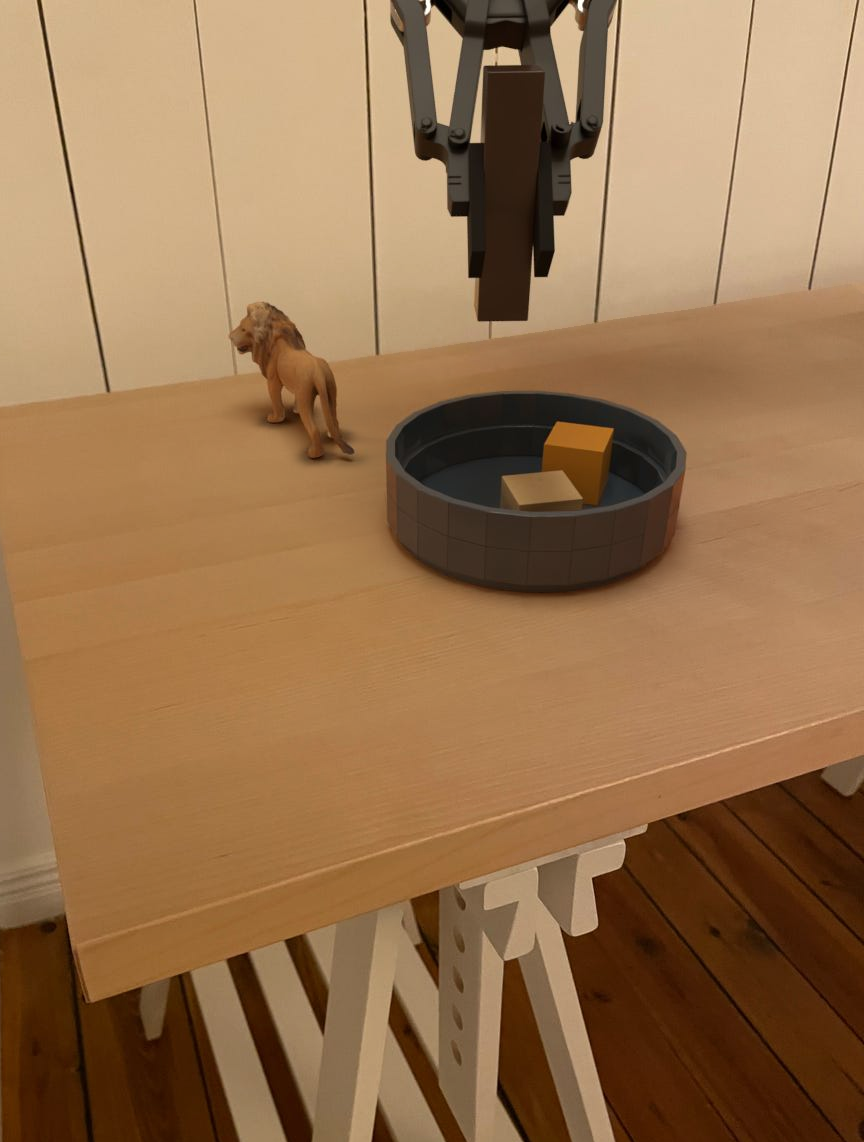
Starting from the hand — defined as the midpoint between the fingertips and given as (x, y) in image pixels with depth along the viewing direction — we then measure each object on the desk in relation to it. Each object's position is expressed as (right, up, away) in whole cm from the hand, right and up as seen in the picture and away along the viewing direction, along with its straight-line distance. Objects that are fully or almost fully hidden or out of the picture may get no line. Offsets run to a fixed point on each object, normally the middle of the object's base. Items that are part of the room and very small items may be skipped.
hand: (510, 264), depth 56 cm
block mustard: (+6, -10, +15) cm, 19 cm away
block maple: (+3, -15, +9) cm, 17 cm away
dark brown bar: (0, -1, +5) cm, 6 cm away
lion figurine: (-14, -4, +27) cm, 30 cm away
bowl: (+3, -13, +13) cm, 18 cm away
